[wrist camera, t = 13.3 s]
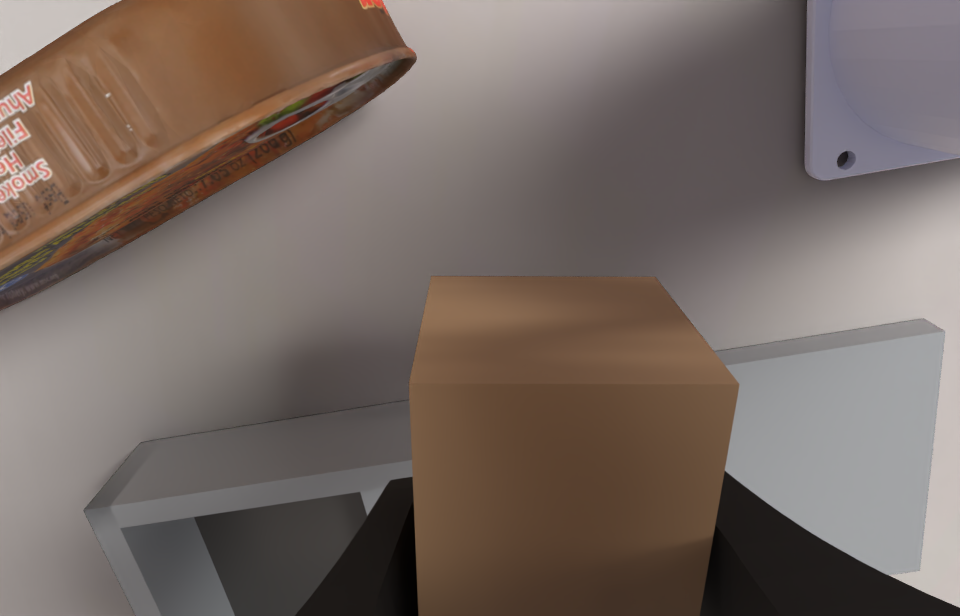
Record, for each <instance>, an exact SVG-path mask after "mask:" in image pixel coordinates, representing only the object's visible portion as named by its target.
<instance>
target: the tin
mask: <svg viewBox="0 0 960 616" xmlns="http://www.w3.org/2000/svg"><path fill="white" fill-rule="evenodd" d="M416 60H417V57H416V54H415V52H414V51H413V50H412V49H410V48H408V47H407V46H406V44H405V43H404V41H403V39H402V37H401V36H400V34H399V32H398V30H397V29H396V27H395V25H394V23H393V21H392V19H391V17H390V15H389V13H388V11H387V9H386V7H385V5H384V3H383V1H382V0H122V1H120V2H118V3H116V4H114V5H112V6H110V7H108V8H106V9H104V10H103V11H101V12H99V13H98V14H96V15H94V16H92V17H91V18H89V19H87V20H86V21H84V22H83V23H81V24H80V25H78V26H76V27H75V28H73V29H72V30H70V31H69V32H67V33H66V34H64V35H62V36H61V37H59V38H58V39H56V40H55V41H53V42H52V43H50V44H48V45H47V46H45V47H44V48H42V49H41V50H39V51H38V52H36V53H35V54H33V55H32V56H30V57H28V58H26V59H25V60H23V61H22V62H20V63H19V64H17V65H16V66H14V67H13V68H11V69H10V70H8V71H7V72H5V73H3V74H2V75H0V311H1V310H3V309H5V308H7V307H9V306H11V305H14V304H16V303H18V302H20V301H22V300H24V299H26V298H29V297H31V296H33V295H35V294H37V293H39V292H41V291H43V290H45V289H47V288H49V287H50V286H52V285H54V284H56V283H58V282H60V281H61V280H63V279H65V278H67V277H69V276H71V275H72V274H74V273H76V272H78V271H80V270H82V269H84V268H85V267H87V266H89V265H90V264H92V263H94V262H95V261H97V260H98V259H101V258H103V257H105V256H106V255H108V254H110V253H112V252H114V251H116V250H117V249H119V248H121V247H123V246H124V245H126V244H128V243H130V242H132V241H133V240H135V239H137V238H139V237H140V236H141V235H144V234H146V233H147V232H149V231H150V230H152V229H154V228H156V227H158V226H159V225H161V224H163V223H164V222H166V221H168V220H170V219H171V218H173V217H175V216H176V215H178V214H180V213H182V212H183V211H185V210H187V209H188V208H190V207H192V206H194V205H196V204H197V203H199V202H201V201H203V200H204V199H206V198H208V197H209V196H211V195H213V194H215V193H216V192H218V191H220V190H222V189H224V188H225V187H227V186H229V185H230V184H232V183H234V182H236V181H237V180H239V179H241V178H243V177H244V176H246V175H248V174H250V173H251V172H253V171H255V170H257V169H258V168H260V167H262V166H264V165H266V164H267V163H269V162H271V161H273V160H274V159H276V158H278V157H279V156H281V155H283V154H285V153H286V152H288V151H290V150H291V149H293V148H295V147H297V146H298V145H300V144H302V143H303V142H305V141H307V140H309V139H310V138H312V137H314V136H315V135H317V134H319V133H320V132H322V131H324V130H326V129H327V128H329V127H330V126H332V125H333V124H335V123H337V122H338V121H340V120H341V119H342V118H344V117H346V116H348V115H349V114H351V113H353V112H354V111H356V110H357V109H359V108H360V107H362V106H363V105H365V104H366V103H368V102H369V101H371V100H372V99H374V98H375V97H377V96H378V95H379V94H381V93H383V92H384V91H385V90H386V89H387V88H389V87H390V86H391V85H393V84H394V83H396V82H397V81H398V80H399V79H400V78H401V77H402V76H404V75H405V74H406V72H408V71H409V70H410V68H411V67H412V66H413V64H414V63H415V62H416Z"/></svg>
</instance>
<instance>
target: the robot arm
mask: <svg viewBox="0 0 960 616" xmlns="http://www.w3.org/2000/svg"><path fill="white" fill-rule="evenodd" d="M845 151H847V153H848V159H847V162H846V163H845V164H844V165H843V166H841V167H838V165H837V159H838V157H839V155H840V154H841V153H842V152H845ZM956 158H960V0H807V44H806V107H805V169H806V172H807V173H808V174H809V176H811V177H813V178H815V179H818V180H833V179H839V178H845V177H850V176H856V175H862V174H868V173H874V172H880V171H886V170H892V169H898V168H903V167H909V166H915V165H921V164H927V163H933V162H939V161H945V160H950V159H956ZM295 616H418V593H417V569H416V545H415V521H414V497H413V477H407V478H400V479H394V480H390V481H389V483H388V484H387V485H386V487H385V488H384V490H383V492H382V493H381V495H380V496H379V498H378V500H377V501H376V503H375V504H374V506H373V508H372V509H371V511H370V512H369V514H368V516H367V517H366V519H365V520H364V522H363V523H362V525H361V527H360V528H359V530H358V531H357V533H356V534H355V536H354V537H353V539H352V540H351V542H350V543H349V544H348V546H347V547H346V549H345V550H344V552H343V553H342V555H341V556H340V558H339V559H338V561H337V562H336V563H335V565H334V566H333V567H332V569H331V570H330V571H329V573H328V574H327V575H326V577H325V578H324V579H323V581H322V582H321V583H320V585H319V586H318V587H317V588H316V590H315V591H314V592H313V594H312V595H311V596H310V598H309V599H308V600H307V601H306V603H305V604H304V605H303V606H302V607H301V609H300V610H299V611H298V612H297V613H296V615H295ZM700 616H960V608H959V607H956V606H954V605H952V604H949V603H947V602H945V601H943V600H940V599H938V598H936V597H933V596H931V595H929V594H926V593H924V592H922V591H920V590H918V589H916V588H914V587H912V586H909V585H907V584H905V583H903V582H901V581H899V580H897V579H895V578H893V577H891V576H889V575H886V574H884V573H882V572H880V571H878V570H877V569H875V568H873V567H871V566H869V565H867V564H865V563H863V562H861V561H859V560H857V559H856V558H854V557H852V556H850V555H849V554H847V553H845V552H843V551H842V550H840V549H838V548H836V547H834V546H833V545H831V544H829V543H827V542H826V541H824V540H822V539H821V538H819V537H817V536H816V535H814V534H812V533H811V532H809V531H808V530H806V529H804V528H803V527H801V526H800V525H798V524H797V523H795V522H794V521H792V520H791V519H789V518H788V517H786V516H785V515H783V514H782V513H780V512H779V511H778V510H776V509H775V508H773V507H772V506H771V505H769V504H768V503H766V502H765V501H764V500H762V499H761V498H760V497H758V496H757V495H756V494H754V493H753V492H752V491H750V490H749V489H748V488H746V487H745V486H744V485H743V484H741V483H740V482H739V481H737V480H736V479H735V478H734V477H732V476H731V475H730V474H729V473H727V472H726V471H725V472H724V478H723V483H722V489H721V495H720V501H719V507H718V512H717V518H716V524H715V530H714V535H713V541H712V547H711V553H710V558H709V564H708V570H707V576H706V581H705V587H704V593H703V599H702V605H701V610H700Z"/></svg>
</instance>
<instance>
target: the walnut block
mask: <svg viewBox="0 0 960 616" xmlns="http://www.w3.org/2000/svg"><path fill="white" fill-rule="evenodd" d="M739 385H740V384H739V383H738V382H737V380H736V379H735V378H734V376H733V375H732V374H731V373H730V371H729V370H728V369H727V368H726V366H725V365H724V364H723V362H722V361H721V360H720V359H719V357H718V356H717V355H716V354H715V352H714V351H713V350H712V348H711V347H710V346H709V345H708V343H707V342H706V341H705V340H704V338H703V337H702V336H701V334H700V333H699V332H698V331H697V329H696V328H695V327H694V326H693V324H692V323H691V322H690V320H689V319H688V318H687V317H686V315H685V314H684V313H683V312H682V310H681V309H680V308H679V306H678V305H677V304H676V303H675V301H674V300H673V299H672V298H671V296H670V295H669V294H668V292H667V291H666V290H665V289H664V287H663V286H662V285H661V284H660V282H659V281H658V280H657V278H656V277H553V276H431V280H430V285H429V289H428V294H427V299H426V304H425V309H424V313H423V318H422V323H421V328H420V332H419V337H418V342H417V347H416V351H415V356H414V361H413V366H412V371H411V375H410V380H409V401H410V425H411V449H412V473H413V497H414V521H415V545H416V569H417V593H418V616H700V610H701V605H702V599H703V593H704V587H705V581H706V576H707V570H708V564H709V558H710V553H711V547H712V541H713V535H714V530H715V524H716V518H717V512H718V507H719V501H720V495H721V489H722V483H723V478H724V472H725V466H726V460H727V455H728V449H729V443H730V437H731V432H732V426H733V420H734V414H735V408H736V403H737V397H738V391H739Z"/></svg>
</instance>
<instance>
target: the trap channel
mask: <svg viewBox="0 0 960 616" xmlns="http://www.w3.org/2000/svg"><path fill="white" fill-rule="evenodd" d="M944 339H945V331H944V330H943V329H941V328H939V327H937V326H936V325H934V324H932V323H931V322H929V321H927V320H926V319H918V320H912V321H906V322H899V323H893V324H887V325H880V326H874V327H868V328H861V329H855V330H849V331H842V332H836V333H830V334H823V335H817V336H811V337H804V338H798V339H792V340H785V341H779V342H773V343H767V344H760V345H754V346H748V347H741V348H735V349H729V350H722V351H716V352H715V354H716V355H717V356H718V357H719V359H720V360H721V361H722V362H723V364H724V365H725V366H726V368H727V369H728V370H729V371H730V373H731V374H732V375H733V376H734V378H735V379H736V380H737V382H738V383H739V384H740V385H739V391H738V397H737V403H736V408H735V414H734V420H733V426H732V432H731V437H730V443H729V449H728V455H727V460H726V466H725V471H726V472H727V473H729V474H730V475H731V476H732V477H734V478H735V479H736V480H737V481H739V482H740V483H741V484H743V485H744V486H745V487H746V488H748V489H749V490H750V491H752V492H753V493H754V494H756V495H757V496H758V497H760V498H761V499H762V500H764V501H765V502H766V503H768V504H769V505H771V506H772V507H773V508H775V509H776V510H778V511H779V512H780V513H782V514H783V515H785V516H786V517H788V518H789V519H791V520H792V521H794V522H795V523H797V524H798V525H800V526H801V527H803V528H804V529H806V530H808V531H809V532H811V533H812V534H814V535H816V536H817V537H819V538H821V539H822V540H824V541H826V542H827V543H829V544H831V545H833V546H834V547H836V548H838V549H840V550H842V551H843V552H845V553H847V554H849V555H850V556H852V557H854V558H856V559H857V560H859V561H861V562H863V563H865V564H867V565H869V566H871V567H873V568H875V569H877V570H878V571H880V572H882V573H884V574H886V575H894V574H901V573H908V572H915V571H920V565H921V555H922V546H923V537H924V527H925V518H926V508H927V499H928V490H929V480H930V471H931V462H932V452H933V443H934V433H935V424H936V415H937V405H938V396H939V386H940V377H941V368H942V358H943V349H944ZM407 477H413V473H412V449H411V425H410V401H409V400H406V401H400V402H394V403H387V404H381V405H375V406H368V407H362V408H356V409H349V410H343V411H337V412H330V413H324V414H318V415H311V416H305V417H299V418H293V419H286V420H280V421H274V422H267V423H261V424H255V425H248V426H242V427H236V428H229V429H223V430H217V431H210V432H204V433H198V434H191V435H185V436H179V437H172V438H166V439H160V440H153V441H147V442H141V443H140V444H139V445H138V446H137V447H136V449H135V450H134V451H133V452H132V453H131V455H130V456H129V457H128V458H127V459H126V461H125V462H124V463H123V464H122V465H121V466H120V468H119V469H118V470H117V471H116V472H115V474H114V475H113V476H112V477H111V478H110V479H109V481H108V482H107V483H106V484H105V485H104V487H103V488H102V489H101V490H100V491H99V492H98V494H97V495H96V496H95V497H94V498H93V500H92V501H91V502H90V503H89V504H88V506H87V507H86V508H85V509H84V510H83V511H84V513H85V515H86V517H87V519H88V521H89V523H90V525H91V527H92V529H93V531H94V533H95V535H96V537H97V539H98V541H99V543H100V545H101V547H102V549H103V551H104V553H105V555H106V557H107V559H108V561H109V563H110V565H111V567H112V569H113V571H114V573H115V576H116V578H117V580H118V582H119V584H120V586H121V588H122V590H123V592H124V594H125V596H126V598H127V600H128V602H129V604H130V606H131V608H132V610H133V612H134V614H135V616H295V615H296V613H297V612H298V611H299V610H300V609H301V607H302V606H303V605H304V604H305V603H306V601H307V600H308V599H309V598H310V596H311V595H312V594H313V592H314V591H315V590H316V588H317V587H318V586H319V585H320V583H321V582H322V581H323V579H324V578H325V577H326V575H327V574H328V573H329V571H330V570H331V569H332V567H333V566H334V565H335V563H336V562H337V561H338V559H339V558H340V556H341V555H342V553H343V552H344V550H345V549H346V547H347V546H348V544H349V543H350V542H351V540H352V539H353V537H354V536H355V534H356V533H357V531H358V530H359V528H360V527H361V525H362V523H363V522H364V520H365V519H366V517H367V516H368V514H369V512H370V511H371V509H372V508H373V506H374V504H375V503H376V501H377V500H378V498H379V496H380V495H381V493H382V492H383V490H384V488H385V487H386V485H387V484H388V483H389V481H390V480H394V479H400V478H407Z"/></svg>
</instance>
